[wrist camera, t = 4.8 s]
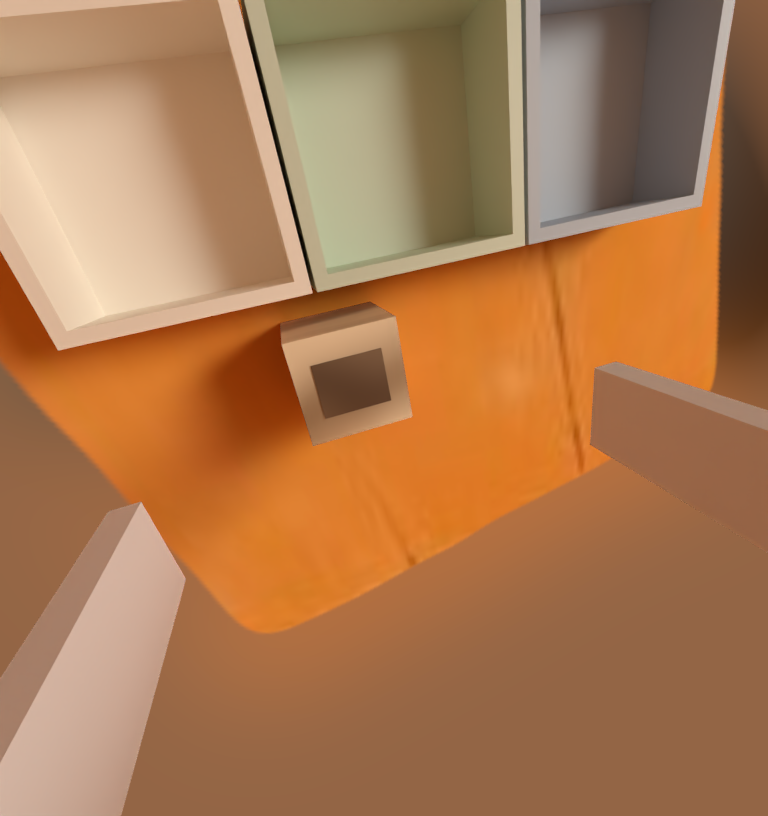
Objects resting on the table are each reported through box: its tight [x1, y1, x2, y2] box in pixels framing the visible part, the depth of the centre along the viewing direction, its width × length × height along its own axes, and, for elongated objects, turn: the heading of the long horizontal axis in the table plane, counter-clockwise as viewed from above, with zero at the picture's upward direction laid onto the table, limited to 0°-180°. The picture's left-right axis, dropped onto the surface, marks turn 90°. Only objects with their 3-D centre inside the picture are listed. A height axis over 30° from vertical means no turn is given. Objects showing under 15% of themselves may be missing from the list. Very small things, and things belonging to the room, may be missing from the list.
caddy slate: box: [521, 0, 735, 245], centre depth 18 cm, size 10×10×4 cm
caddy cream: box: [0, 0, 313, 351], centre depth 15 cm, size 10×10×4 cm
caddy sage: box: [241, 0, 525, 292], centre depth 16 cm, size 10×10×4 cm
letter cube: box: [280, 302, 413, 446], centre depth 19 cm, size 5×5×5 cm
